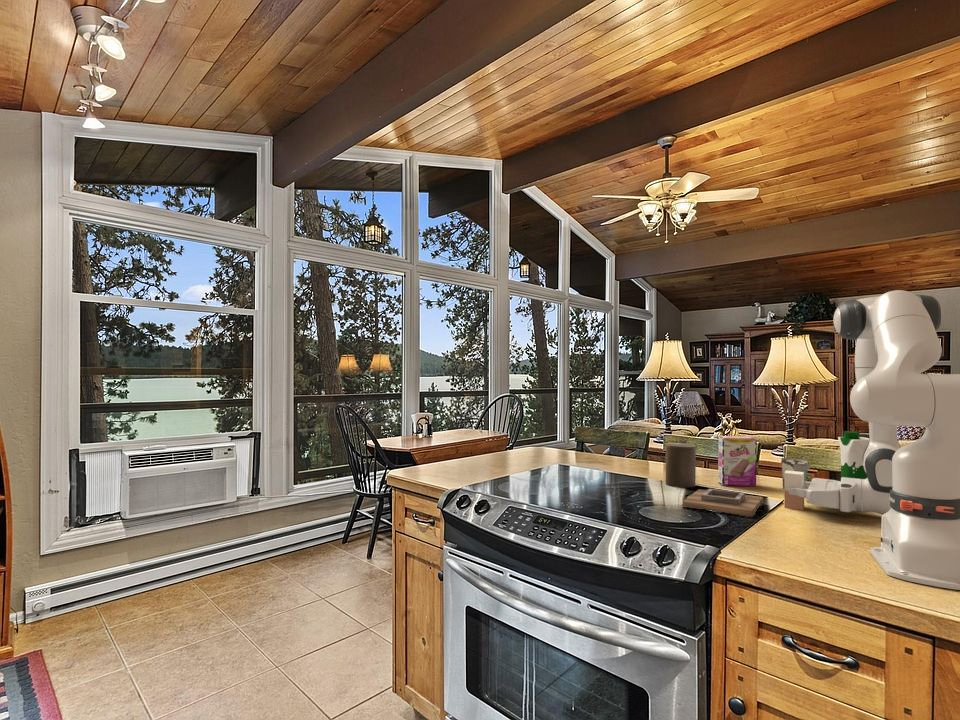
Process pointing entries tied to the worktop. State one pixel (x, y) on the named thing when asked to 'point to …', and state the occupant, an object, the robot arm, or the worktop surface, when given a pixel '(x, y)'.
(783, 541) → the worktop surface
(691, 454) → the pillar candle
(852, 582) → the worktop surface
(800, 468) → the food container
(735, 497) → the walnut plate
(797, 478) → the block stack
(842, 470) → the milk carton
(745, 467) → the candy bar box
